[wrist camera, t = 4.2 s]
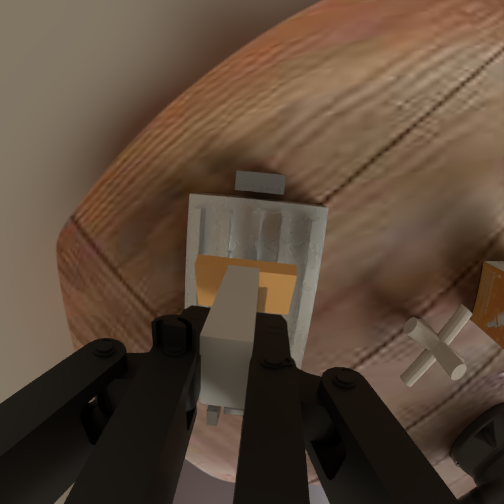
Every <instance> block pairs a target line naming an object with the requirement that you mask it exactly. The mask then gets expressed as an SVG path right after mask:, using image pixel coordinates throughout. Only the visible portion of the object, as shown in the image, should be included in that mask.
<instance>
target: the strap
mask: <svg viewBox="0 0 504 504" xmlns="http://www.w3.org/2000/svg"><path fill="white" fill-rule="evenodd" d="M194 265H195V276H196V287H197V298H198V304H199V305H206V306H212V304H213V302H214V299H215V297H216V294H217V292H218V289H219V287H220V284H221V282H222V280H223V277H224V275H225V272H226V270H227V267H228V265H235V266H244V267H254V268H260V273H259V284H258V296H257V308H256V312H259V313H264V312H266V313H275V314H286V315H288V312H289V308H290V303H291V299H292V295H293V291H294V286H295V282H296V277H297V265H294V264H284V263H275V262H265V261H256V260H247V259H238V258H228V257H219V256H210V255H201V254H198V256H197V259H196V262H195V264H194ZM224 413H227V414H234V415H243V413H244V409H238V408H230V407H224Z"/></svg>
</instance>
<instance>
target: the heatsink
mask: <svg viewBox="0 0 504 504" xmlns="http://www.w3.org/2000/svg"><path fill="white" fill-rule="evenodd" d="M285 179H286V175H279V174H270V173H260V172H249V171H238V170H236V181H235V190H242V191H253V192H263V193H272V194H281V195H284V189H285ZM327 216H328V207H326V206H324V205H319V204H312V203H303V202H295V201H287V200H278V199H268V198H259V197H249V196H238V195H227V194H215V193H203V192H196V193H191V194H190V196H189V210H188V227H187V247H186V273H185V309H186V308H188V307H190V306H191V305H194V306H201V307H209V308H211V307H212V306H206V305H199V304H198V298H197V287H196V276H195V265H194V264H195V262H196V259H197V256H198V254H201V255H210V256H219V257H228V258H238V259H247V260H256V261H265V262H275V263H284V264H294V265H297V277H296V282H295V286H294V291H293V295H292V299H291V303H290V308H289V312H288V315H286V314H279V315H282V316H283V318H284V319H285V320H286V321H287V326H288V336H289V345H290V354H291V357H292V358H293V359H294V361H295V363H296V367H297V368H299V369H301V364H302V360H303V355H304V351H305V346H306V341H307V336H308V331H309V326H310V321H311V316H312V310H313V305H314V299H315V294H316V288H317V282H318V276H319V270H320V264H321V258H322V251H323V245H324V238H325V231H326V224H327ZM264 313H266V312H264ZM269 314H275V313H269ZM220 409H221V406H215V405H208V409H207V424H208V425H215V426H217V423H218V418H219V414H220Z"/></svg>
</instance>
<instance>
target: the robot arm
mask: <svg viewBox="0 0 504 504" xmlns="http://www.w3.org/2000/svg"><path fill="white" fill-rule="evenodd" d="M259 273H260V268H254V267H244V266H235V265H228V267H227V270H226V272H225V275H224V277H223V280H222V282H221V284H220V287H219V289H218V292H217V294H216V297H215V299H214V302H213V304H212V307H211V308H209V307H201V306H194V305H191V306H190V307H188V308H186V309H185V310H183V312H182V314H181V315H165V316H161V317H158V318H156V319H155V320H153V321H152V322H151V323H152V339H153V347H152V348H151V350H150V352H147V353H126V348H125V346H124V344H123V343H121V342H120V341H118V340H115V339H110V338H102V339H97V340H94V341H92V342H90V343H88V344H87V345H85V346H84V347H82V348H81V349H79V350H78V351H76V352H75V353H73V354H72V355H70V356H69V357H67V358H66V359H64V360H63V361H61V362H60V363H59V364H57V365H56V366H54V367H53V368H51V369H50V370H49V371H47V372H45V373H44V374H42V375H41V376H40V377H38V378H37V379H35V380H34V381H32V382H31V383H29V384H28V385H27V386H25V387H24V388H22V389H21V390H19V391H18V392H16V393H15V394H14V395H12V396H11V397H9V398H8V399H6V400H5V401H4V402H2V403H1V404H0V504H54V503H55V502H56V501H57V500H58V499H59V498H60V497H61V495H63V493H64V492H65V491H66V490H67V489H68V488H69V487H70V486H71V485H72V484H73V483H74V482H75V483H74V485H73V487H72V489H71V491H70V493H69V495H68V497H67V499H66V501H65V503H64V504H172V503H173V499H174V495H175V492H176V488H177V484H178V480H179V477H180V473H181V469H182V466H183V462H184V458H185V455H186V451H187V447H188V444H189V440H190V436H191V433H192V429H193V426H194V422H195V418H196V415H197V406H196V404H197V401H198V397H199V403H202V404H208V405H215V406H222V407H230V408H238V409H244V413H243V421H242V429H241V439H240V447H239V456H238V464H237V473H236V481H235V489H234V498H233V504H310V501H309V488H308V476H307V465H306V454H305V448H306V450H307V452H308V455H309V457H310V459H311V462H312V464H313V466H314V469H315V471H316V473H317V475H318V478H319V480H320V482H321V485H322V487H323V489H324V491H325V494H326V496H327V498H328V500H329V503H330V504H504V404H501V405H498V406H496V407H494V408H492V409H490V410H489V411H487V412H486V413H484V414H483V415H481V416H480V417H479V418H478V419H476V420H475V421H474V422H473V423H472V424H471V425H470V426H469V427H468V428H467V429H466V430H465V431H464V432H463V433H462V434H461V435H460V436H459V438H458V439H457V440H456V442H455V443H454V445H453V447H452V449H451V453H450V455H451V457H452V459H453V461H454V463H455V464H456V465H457V466H458V467H460V468H461V469H462V470H463V471H465V472H466V473H467V474H468V475H470V476H471V477H472V478H473V480H474V482H475V483H476V486H477V487H475V488H474V489H472V490H471V491H470V492H468V493H466V494H465V495H463V496H461V497H460V498H458V499H456V497H455V496H454V495H453V493H452V492H451V491H450V489H449V488H448V487H447V485H446V484H445V483H444V481H443V480H442V479H441V477H440V476H439V475H438V473H437V472H436V471H435V469H434V468H433V467H432V465H431V464H430V463H429V461H428V460H427V459H426V457H425V456H424V455H423V453H422V452H421V451H420V449H419V448H418V447H417V445H416V444H415V443H414V441H413V440H412V439H411V438H410V436H409V435H408V434H407V432H406V431H405V430H404V428H403V427H402V426H401V424H400V423H399V422H398V421H397V419H396V418H395V417H394V415H393V414H392V413H391V411H390V410H389V409H388V408H387V406H386V405H385V404H384V402H383V401H382V400H381V398H380V397H379V396H378V395H377V393H376V392H375V391H374V389H373V388H372V387H371V386H370V384H369V383H368V382H367V380H366V379H365V378H364V377H363V376H362V375H361V374H360V373H359V372H356V371H354V370H352V369H349V368H345V367H334V368H330V369H328V370H326V371H325V372H324V373H323V375H322V377H320V376H316V375H312V374H309V373H306V372H304V371H302V370H300V369H299V368H297V367H296V363H295V361H294V359H293V358H292V357H291V354H290V345H289V336H288V326H287V321H286V320H285V319H284V318H283V316H282V315H279V314H269V313H259V312H256V308H257V296H258V284H259ZM94 397H95V400H93V402H90V403H88V402H89V401H90V400H92V398H94Z"/></svg>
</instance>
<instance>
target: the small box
mask: <svg viewBox="0 0 504 504" xmlns="http://www.w3.org/2000/svg"><path fill="white" fill-rule="evenodd" d="M471 321H472V322H473V323H475V324H476V325H477V326H478V327H479V328H480V329H482V330H483V331H484V332H485V333H486V334H487V335H488V336H489V337H491V338H492V339H493V340H494V341H495V342H496V343H497V344H498V345H500V346H501V347H502V348H503V349H504V261H484V262H483V268H482V274H481V280H480V284H479V289H478V294H477V298H476V302H475V306H474V310H473V314H472V316H471Z"/></svg>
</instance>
